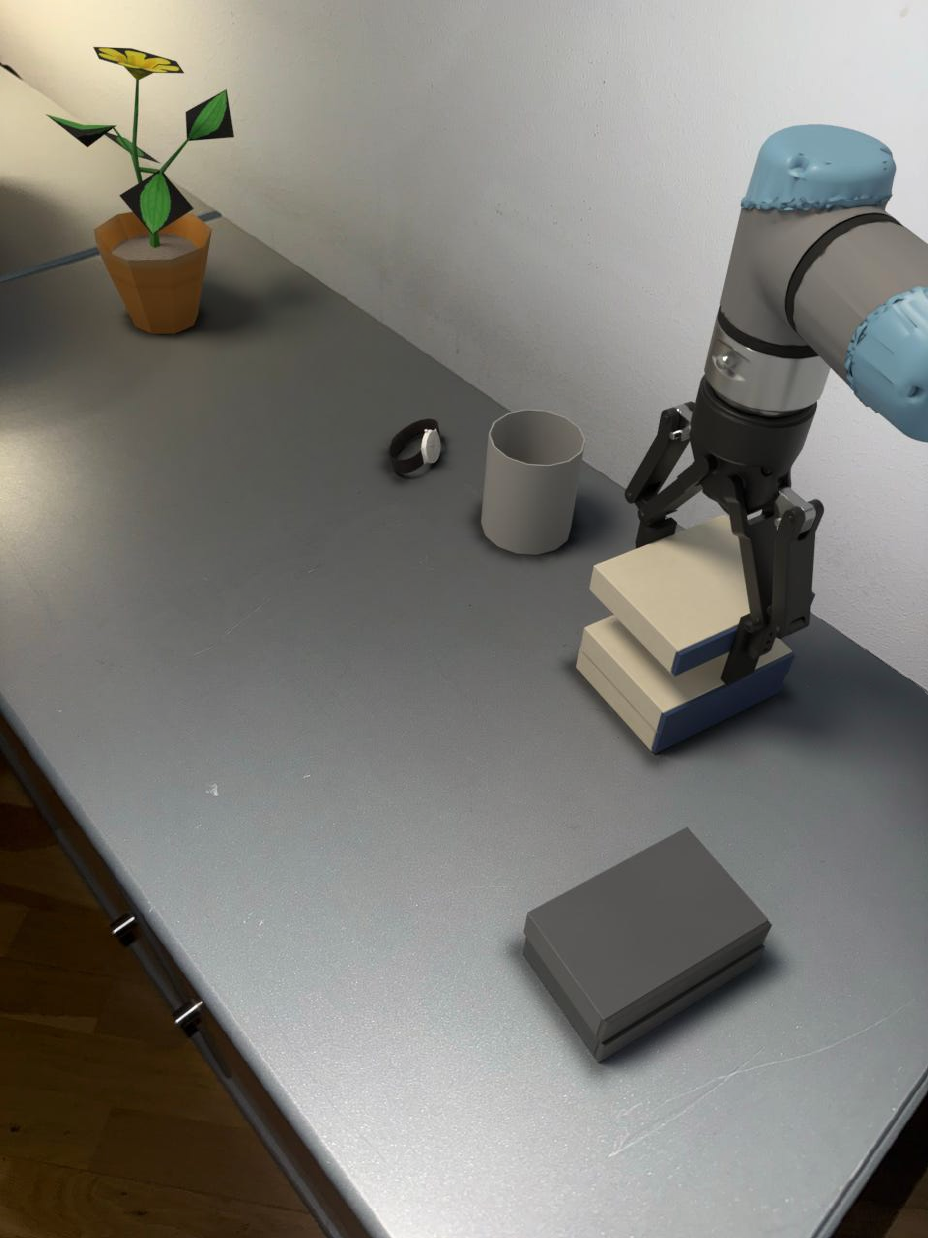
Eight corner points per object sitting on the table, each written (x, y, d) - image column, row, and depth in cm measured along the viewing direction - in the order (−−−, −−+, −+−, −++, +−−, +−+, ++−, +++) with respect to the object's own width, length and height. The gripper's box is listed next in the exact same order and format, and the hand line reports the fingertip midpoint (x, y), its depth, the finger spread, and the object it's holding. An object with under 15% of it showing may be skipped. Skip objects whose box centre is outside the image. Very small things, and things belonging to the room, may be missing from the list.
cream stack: (780, 695, 89) (797, 652, 85) (654, 757, 83) (666, 715, 80) (696, 614, 95) (709, 572, 91) (574, 668, 89) (582, 625, 86)
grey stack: (756, 964, 72) (776, 926, 68) (596, 1064, 66) (609, 1028, 63) (674, 866, 76) (688, 825, 73) (519, 952, 71) (526, 912, 68)
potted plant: (250, 356, 120) (223, 65, 99) (73, 360, 117) (6, 62, 96) (250, 277, 132) (226, 4, 111) (90, 280, 130) (34, 0, 108)
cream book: (806, 616, 83) (816, 593, 81) (674, 678, 77) (681, 654, 76) (717, 537, 89) (724, 513, 87) (588, 589, 83) (593, 565, 82)
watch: (421, 484, 105) (422, 454, 103) (376, 471, 106) (377, 441, 104) (450, 442, 111) (452, 412, 108) (408, 430, 112) (409, 400, 109)
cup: (463, 516, 102) (470, 427, 95) (530, 486, 106) (541, 399, 99) (520, 566, 98) (532, 477, 91) (588, 533, 102) (604, 445, 95)
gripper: (606, 316, 75) (566, 557, 90) (849, 504, 61) (753, 749, 77) (690, 292, 78) (637, 530, 93) (939, 466, 64) (829, 710, 80)
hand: (689, 629), depth 85 cm, fingers closed on cream book, 10 cm apart
